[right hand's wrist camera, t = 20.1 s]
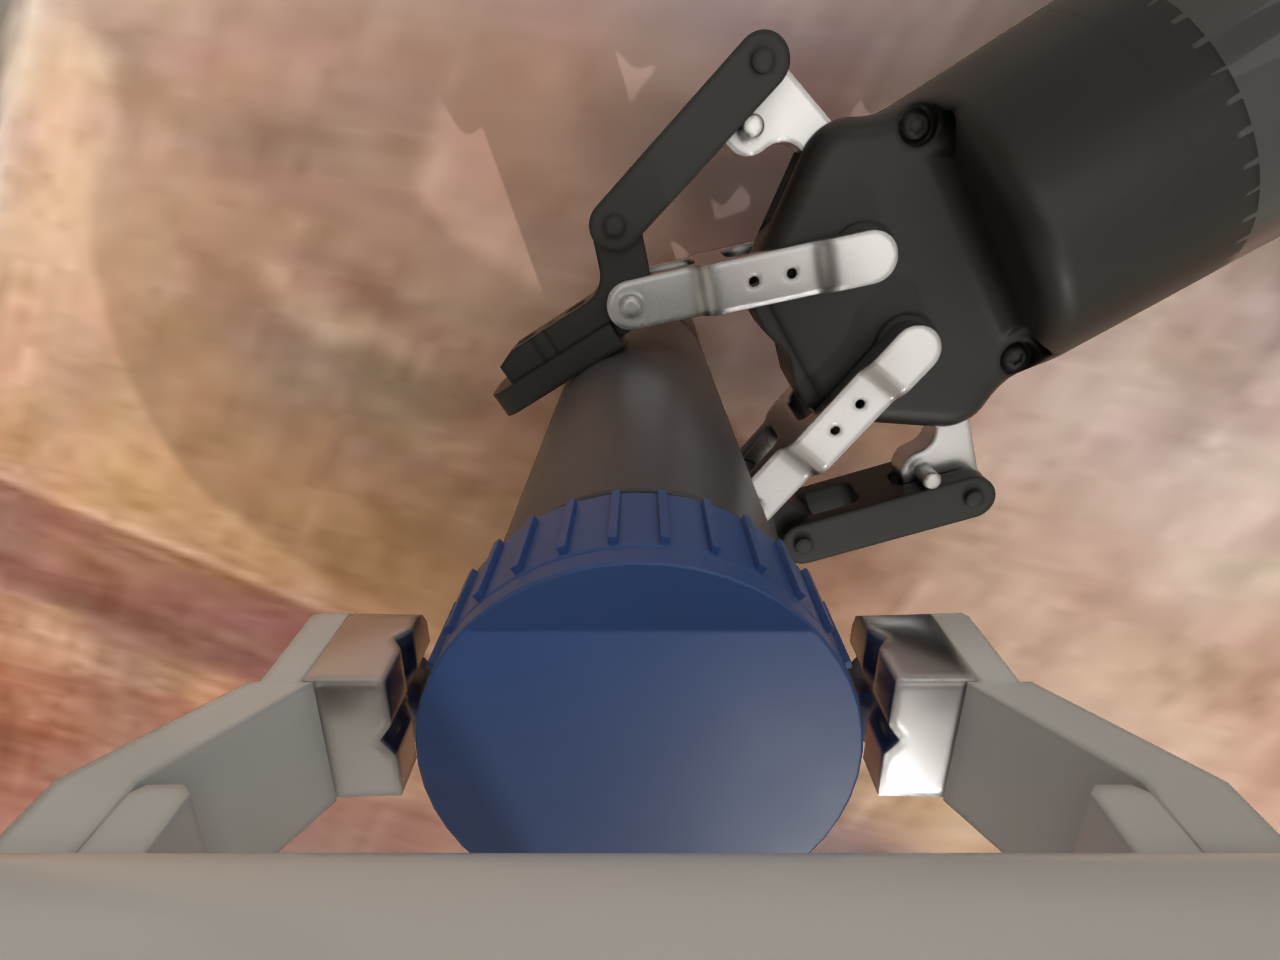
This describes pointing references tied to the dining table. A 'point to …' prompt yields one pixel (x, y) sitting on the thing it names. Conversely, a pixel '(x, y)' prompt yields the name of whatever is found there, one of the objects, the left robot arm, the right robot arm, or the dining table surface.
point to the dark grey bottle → (642, 432)
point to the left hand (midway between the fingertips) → (563, 475)
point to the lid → (639, 689)
